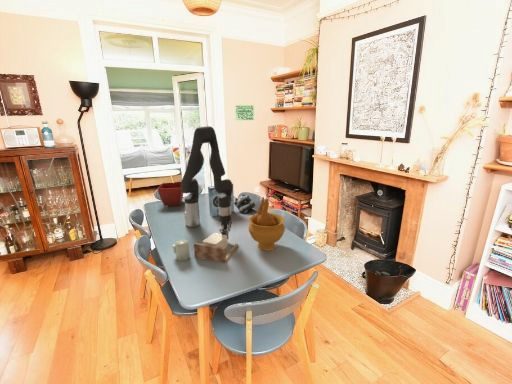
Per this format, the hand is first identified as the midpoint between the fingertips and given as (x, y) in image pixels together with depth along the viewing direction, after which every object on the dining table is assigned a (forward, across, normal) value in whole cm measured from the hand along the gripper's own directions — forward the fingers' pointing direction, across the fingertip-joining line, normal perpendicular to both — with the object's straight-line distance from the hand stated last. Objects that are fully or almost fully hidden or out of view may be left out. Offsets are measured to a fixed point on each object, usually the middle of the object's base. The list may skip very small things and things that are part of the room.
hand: (226, 239), depth 157 cm
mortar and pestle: (+2, -3, +25) cm, 25 cm away
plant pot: (+2, -51, -74) cm, 90 cm away
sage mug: (+2, +23, -16) cm, 28 cm away
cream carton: (+2, +9, -3) cm, 10 cm away
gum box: (+2, -43, -23) cm, 49 cm away
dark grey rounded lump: (+2, -54, -8) cm, 54 cm away
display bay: (+2, +12, 0) cm, 12 cm away
